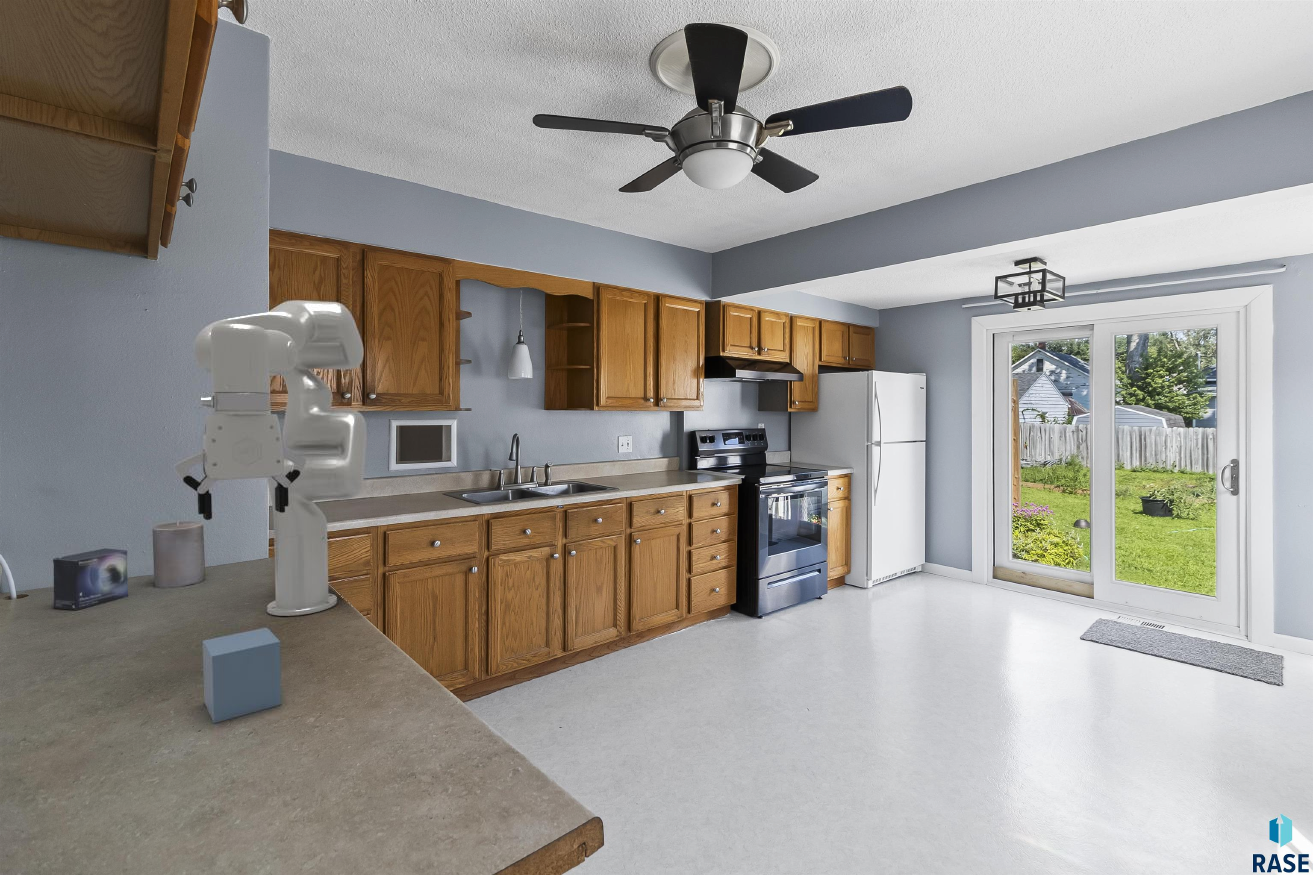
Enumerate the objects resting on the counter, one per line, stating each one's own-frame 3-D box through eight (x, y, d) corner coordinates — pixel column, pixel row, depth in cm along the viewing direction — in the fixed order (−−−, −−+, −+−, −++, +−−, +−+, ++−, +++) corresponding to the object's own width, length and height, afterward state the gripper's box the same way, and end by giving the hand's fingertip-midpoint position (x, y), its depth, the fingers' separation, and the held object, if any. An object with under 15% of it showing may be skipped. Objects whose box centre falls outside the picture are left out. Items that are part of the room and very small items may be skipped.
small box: (77, 611, 127) (75, 560, 127) (51, 609, 129) (49, 558, 128) (130, 596, 138) (128, 548, 137) (106, 594, 139) (104, 547, 139)
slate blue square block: (204, 703, 87) (202, 640, 87) (268, 686, 92) (266, 627, 92) (214, 723, 81) (212, 656, 81) (281, 704, 87) (280, 641, 86)
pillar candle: (169, 578, 153) (166, 516, 152) (213, 575, 155) (211, 515, 154) (144, 589, 143) (141, 524, 142) (192, 587, 145) (189, 522, 144)
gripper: (175, 404, 89) (179, 525, 89) (310, 405, 100) (313, 511, 101) (168, 405, 94) (172, 518, 95) (298, 405, 106) (300, 506, 107)
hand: (245, 515), depth 98 cm, fingers open, 9 cm apart
